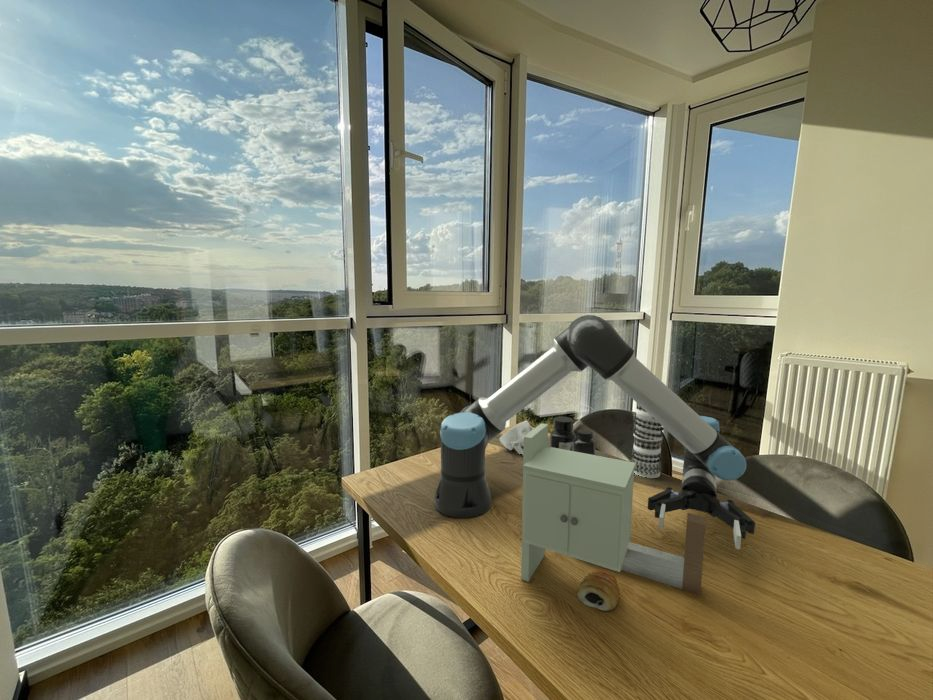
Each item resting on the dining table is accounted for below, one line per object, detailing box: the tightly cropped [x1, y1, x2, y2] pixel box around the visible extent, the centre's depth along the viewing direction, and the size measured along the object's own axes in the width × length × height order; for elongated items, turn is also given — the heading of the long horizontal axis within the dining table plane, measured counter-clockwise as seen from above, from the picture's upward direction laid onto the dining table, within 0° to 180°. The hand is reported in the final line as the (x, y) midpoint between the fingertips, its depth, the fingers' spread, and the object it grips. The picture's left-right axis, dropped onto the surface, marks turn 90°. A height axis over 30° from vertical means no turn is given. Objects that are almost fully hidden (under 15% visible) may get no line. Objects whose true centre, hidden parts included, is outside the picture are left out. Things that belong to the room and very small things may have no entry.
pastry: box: [576, 569, 620, 612], centre depth 77 cm, size 9×7×4 cm
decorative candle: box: [631, 402, 665, 479], centre depth 128 cm, size 9×9×25 cm
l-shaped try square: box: [620, 512, 707, 596], centre depth 83 cm, size 24×3×14 cm, turn 60°
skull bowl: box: [498, 420, 534, 456], centre depth 148 cm, size 10×14×12 cm
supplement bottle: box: [573, 429, 597, 455], centre depth 133 cm, size 7×7×12 cm
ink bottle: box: [549, 416, 577, 451], centre depth 146 cm, size 10×9×12 cm
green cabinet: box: [520, 422, 636, 583], centre depth 76 cm, size 19×14×29 cm
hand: (698, 532), depth 83 cm, fingers open, 13 cm apart
